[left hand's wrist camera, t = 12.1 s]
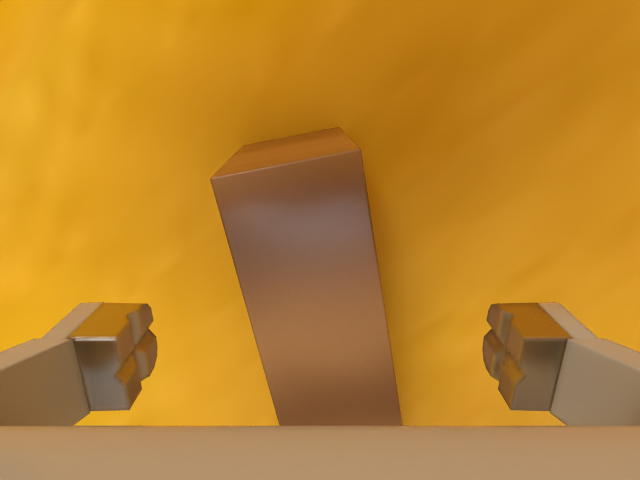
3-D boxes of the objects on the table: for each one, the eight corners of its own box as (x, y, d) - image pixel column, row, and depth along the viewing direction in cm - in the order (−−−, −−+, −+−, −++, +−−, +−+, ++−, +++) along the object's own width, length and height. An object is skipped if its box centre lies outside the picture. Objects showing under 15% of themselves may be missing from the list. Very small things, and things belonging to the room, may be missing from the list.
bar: (241, 146, 24) (209, 178, 16) (339, 126, 24) (360, 148, 16) (317, 449, 33) (322, 580, 24) (390, 436, 32) (423, 563, 24)
